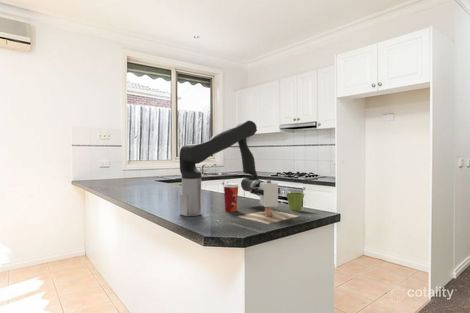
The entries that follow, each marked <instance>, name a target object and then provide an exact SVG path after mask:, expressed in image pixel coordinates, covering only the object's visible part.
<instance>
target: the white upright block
mask: <svg viewBox="0 0 470 313" xmlns="http://www.w3.org/2000/svg"><path fill="white" fill-rule="evenodd" d="M278 187H279V183H278V182H277V183H276V182H274V181H272V180H271V179H269V180H268V179H267V180H266V181H264V182H260V189H262V190H264V195H261V194H260V196H259V205H261V206H263V207H264V208H265V207H279V195H278Z"/></svg>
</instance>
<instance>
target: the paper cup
mask: <svg viewBox="0 0 470 313" xmlns="http://www.w3.org/2000/svg"><path fill="white" fill-rule="evenodd" d="M239 188H240V186H239V184H238V183H235V182H227V183H223V189H224V190H223V196H224V211H225V212H226V213H227V212H228V213H229V212H233V213H234V212H237V210H238V197H239V196H238V195H239Z"/></svg>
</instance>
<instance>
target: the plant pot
mask: <svg viewBox="0 0 470 313" xmlns="http://www.w3.org/2000/svg"><path fill="white" fill-rule="evenodd" d="M285 195H286V197H287V204H288V211H289V210H291V211H295V212H302V208H303V202H304V201H303V200H304V197H305V193H303V192H286V193H285Z"/></svg>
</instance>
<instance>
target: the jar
mask: <svg viewBox="0 0 470 313" xmlns="http://www.w3.org/2000/svg"><path fill="white" fill-rule="evenodd" d="M264 211H265V217H272V211H273V206H270V207H264Z"/></svg>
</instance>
